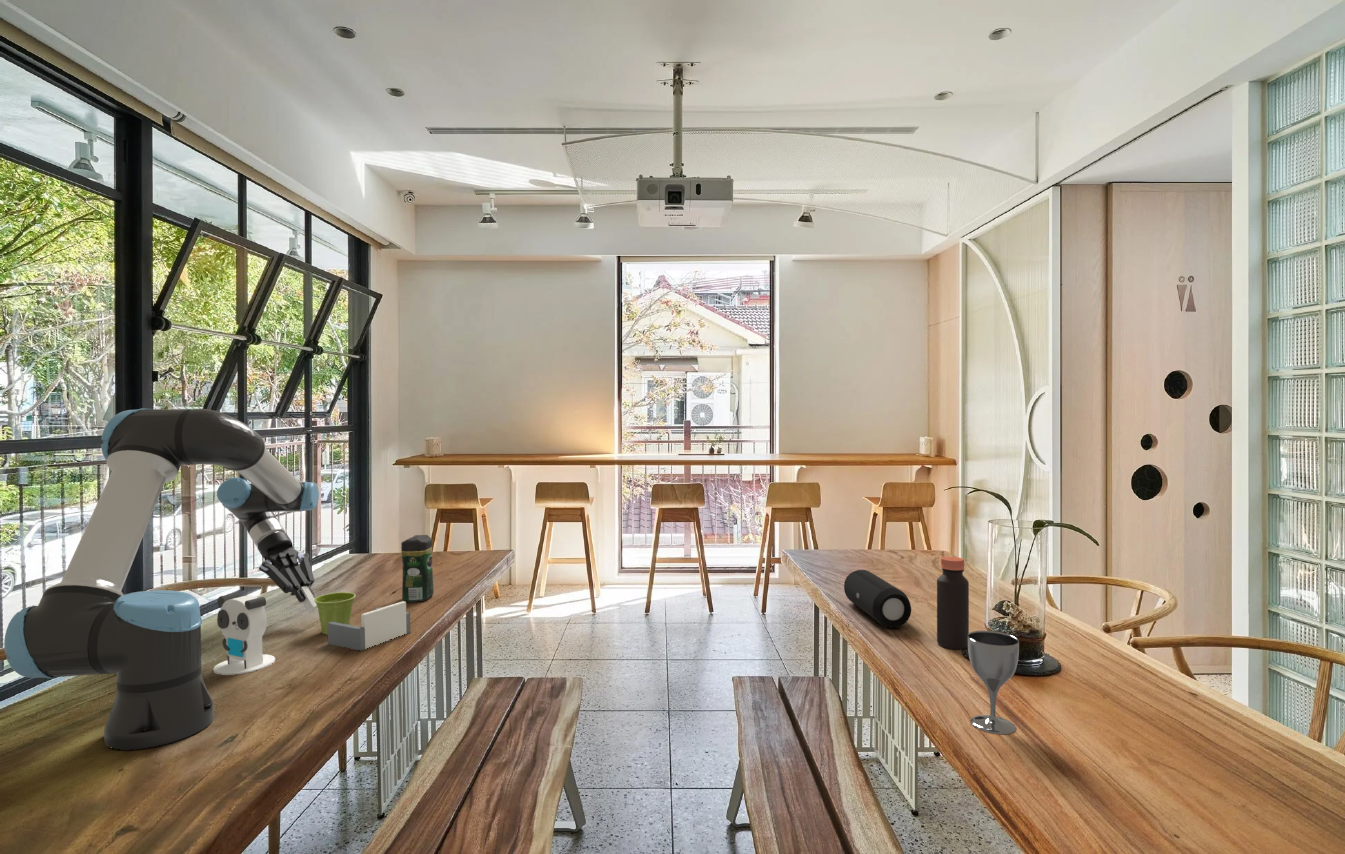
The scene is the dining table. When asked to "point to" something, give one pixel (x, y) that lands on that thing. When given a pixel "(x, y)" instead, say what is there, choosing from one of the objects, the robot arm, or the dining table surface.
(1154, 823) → the dining table surface
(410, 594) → the coffee jar
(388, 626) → the box
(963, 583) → the bottle
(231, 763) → the dining table surface
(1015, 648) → the wine glass
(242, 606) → the panda figurine
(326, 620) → the plant pot
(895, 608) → the portable speaker
